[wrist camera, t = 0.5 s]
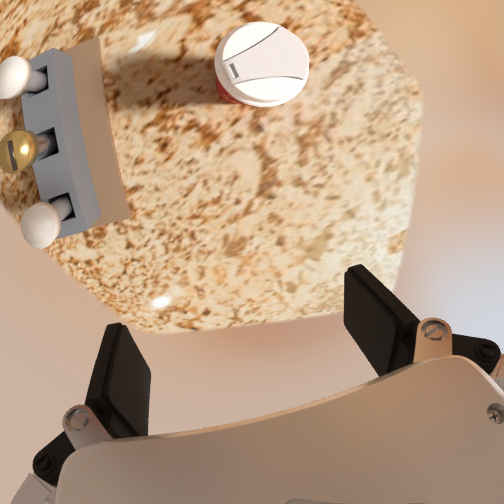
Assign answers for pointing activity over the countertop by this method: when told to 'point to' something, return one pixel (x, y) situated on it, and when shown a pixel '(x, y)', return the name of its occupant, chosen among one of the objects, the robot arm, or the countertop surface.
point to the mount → (76, 138)
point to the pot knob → (24, 149)
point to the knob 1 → (20, 78)
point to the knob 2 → (45, 221)
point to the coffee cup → (260, 65)
